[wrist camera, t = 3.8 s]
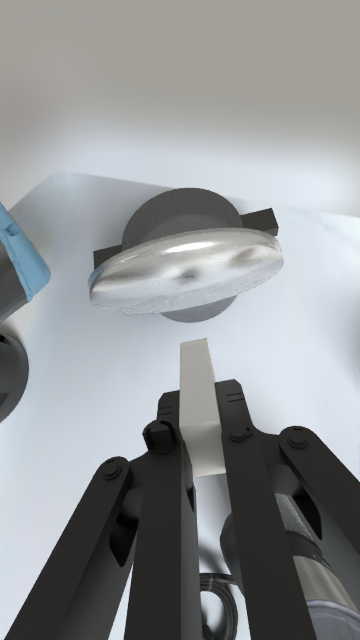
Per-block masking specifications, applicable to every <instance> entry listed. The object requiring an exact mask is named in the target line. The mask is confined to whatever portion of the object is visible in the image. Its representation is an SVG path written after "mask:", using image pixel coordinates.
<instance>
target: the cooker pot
mask: <svg viewBox="0 0 360 640" xmlns="http://www.w3.org/2000/svg"><path fill="white" fill-rule="evenodd" d="M214 228H246V229H253V230H259V231H262V232H265V233H268V234H270V235H272V236H277V233H278V228H279V227H278V224H277V221H276V218H275V216H274V213H273V210H272V208H269V209H265V210H261V211H257V212H253V213H248V214H244V215H239V213H238V212H237V210H236V209H235V207H234V206H233V205H232V204H231V203H230V202H229V201H228V200H227V199H225V198H224V197H222V196H221V195H219V194H217V193H214V192H212V191H209V190H205V189H200V188H180V189H175V190H171V191H167V192H164V193H162V194H160V195H157V196H156V197H154V198H152V199H150V200H149V201H147V202H146V203H145V204H143V205H142V206H141V207H140V208H139V209H138V210H137V211H136V212H135V213H134V215H133V216H132V217H131V219H130V220H129V222H128V224H127V226H126V228H125V231H124V234H123V239H122V245H118V246H114V247H110V248H106V249H101V250H97V251H93V254H94V270H95V269H96V268H97V267H99V266H100V265H101V264H102V263H104V262H105V261H107V260H108V259H110V258H111V257H113V256H115V255H117V254H119V253H121V252H123V251H125V250H128V249H130V248H132V247H135V246H137V245H140V244H143V243H146V242H149V241H152V240H155V239H159V238H162V237H166V236H170V235H174V234H179V233H184V232H190V231H196V230H203V229H214ZM236 296H237V295H234V296H232V297H229V298H225V299H222V300H219V301H216V302H212V303H208V304H204V305H200V306H196V307H191V308H186V309H181V310H175V311H168V312H160V314H162V315H163V316H165V317H167V318H169V319H172V320H175V321H179V322H186V323H191V322H200V321H204V320H208V319H210V318H212V317H215V316H216V315H218V314H220V313H221V312H223V311H224V310H225V309H226V308H227V307H228V306H229V305H230V304H231V303H232V302H233V301H234V299H235V298H236Z"/></svg>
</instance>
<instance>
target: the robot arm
mask: <svg viewBox="0 0 360 640" xmlns="http://www.w3.org/2000/svg"><path fill="white" fill-rule="evenodd" d="M49 279H50V269H49V267H48V265H47V264H46V262H45V261H44V260H43V258H42V257H41V255H40V254H39V253H38V251H37V250H36V249H35V247H34V246H33V245H32V243H31V242H30V240H29V239H28V238H27V236H26V235H25V234H24V232H23V231H22V230H21V229H20V227H19V226H18V225H17V223H16V222H15V221H14V219H13V218H12V217H11V215H10V214H9V213H8V211H7V210H6V209H5V208H4V206H3V205H2V204H1V202H0V322H2V321H3V320H4V319H6V318H7V317H9V316H10V315H11V314H13V313H14V312H15V311H17V310H18V309H19V308H21V307H22V306H23V305H25V304H26V303H28V302H30V301H31V299H32V297H33V296H34V295H36V294H37V293H38V292H39V291H40V290H41V289H42V288H44V287H45V286H46V285H47V283H48V282H49ZM27 379H28V360H27V356H26V353H25V351H24V349H23V347H22V346H21V344H20V343H19V342H18V341H17V340H16V339H15V338H13V337H11V336H9V335H7V334H5V333H2V332H0V422H2V421H3V420H4V419H5V418H6V417H7V416H8V415H9V414H10V413H11V412H12V411H13V410H14V408H15V407H16V405H17V404H18V402H19V401H20V399H21V397H22V395H23V392H24V390H25V387H26V383H27ZM142 435H143V437H144V440H145V443H146V445H147V448H148V451H147V452H146V453H145V454H144V455H142V456H140V457H138V458H136V459H134V460H132V461H129V462H128V460H127V459H126V458H124V457H120V456H118V457H112V458H110V459H108V460H106V461H105V462H104V463H102V464H101V465H100V467H99V468H98V469H97V471H96V473H95V474H94V476H93V478H92V480H91V482H90V483H89V485H88V487H87V489H86V491H85V493H84V494H83V496H82V498H81V500H80V502H79V504H78V505H77V507H76V509H75V511H74V513H73V515H72V516H71V518H70V520H69V522H68V524H67V526H66V527H65V529H64V531H63V533H62V535H61V537H60V538H59V540H58V542H57V544H56V546H55V547H54V549H53V551H52V553H51V555H50V557H49V558H48V560H47V562H46V564H45V566H44V568H43V569H42V571H41V573H40V575H39V577H38V579H37V580H36V582H35V584H34V586H33V588H32V590H31V591H30V593H29V595H28V597H27V599H26V601H25V602H24V604H23V606H22V608H21V610H20V611H19V613H18V615H17V617H16V619H15V621H14V622H13V624H12V626H11V628H10V630H9V632H8V633H7V635H6V637H5V639H4V640H108V638H109V635H110V631H111V628H112V625H113V622H114V619H115V616H116V613H117V610H118V607H119V604H120V601H121V598H122V595H123V592H124V589H125V586H126V583H127V580H128V577H129V573H130V570H131V567H132V564H133V571H132V579H131V586H130V594H129V602H128V610H127V618H126V625H125V633H124V640H202V620H201V598H200V576H199V554H198V532H197V510H196V490H195V486H194V483H193V474H194V477H195V478H196V477H202V476H209V475H215V474H221V473H226V475H227V482H228V488H229V495H230V502H231V508H232V515H233V522H234V529H235V535H236V542H237V549H238V555H239V562H240V569H241V576H242V582H243V589H244V596H245V602H246V609H247V616H248V623H249V629H250V636H251V640H317V637H316V633H315V630H314V627H313V623H312V620H311V616H310V613H309V610H308V606H307V603H306V600H305V596H304V593H303V589H302V586H301V583H300V579H299V576H298V572H297V569H296V566H295V562H294V559H293V556H292V552H291V549H290V545H289V542H288V539H287V535H286V532H285V528H284V525H283V522H282V518H281V515H280V512H279V508H278V505H277V501H276V498H275V495H274V493H278V494H284V495H287V497H288V499H289V500H290V502H291V504H292V505H293V507H294V509H295V510H296V512H297V513H298V515H299V517H300V518H301V520H302V521H303V523H304V525H305V526H306V528H307V529H308V531H309V533H310V534H311V536H312V537H313V539H314V541H315V542H316V544H317V546H318V547H319V549H320V550H321V552H322V554H323V555H324V557H325V558H326V560H327V562H328V563H329V565H330V566H331V568H332V570H333V571H334V573H335V575H336V576H337V578H338V579H339V581H340V583H341V584H342V586H343V587H344V589H345V591H346V592H347V594H348V595H349V597H350V599H351V600H352V602H353V603H354V605H355V607H356V608H357V610H358V612H359V613H360V482H359V481H358V480H357V479H356V478H355V476H354V475H353V474H352V473H351V472H350V471H349V470H348V469H347V468H346V467H345V466H344V464H343V463H342V462H341V461H340V460H339V459H338V458H337V457H336V456H335V455H334V454H333V452H332V451H331V450H330V449H329V448H328V447H327V446H326V445H325V444H324V443H323V442H322V440H321V439H320V438H319V437H318V436H317V435H316V434H315V433H314V432H313V431H311V430H310V429H308V428H305V427H302V426H291V427H287V428H285V429H284V430H282V431H281V433H280V434H279V435H273V434H267V433H264V432H261V431H259V430H258V429H256V428H255V426H254V425H253V423H252V421H251V418H250V414H249V411H248V407H247V404H246V401H245V397H244V394H243V390H242V387H241V384H239V383H238V382H237V381H236V380H235V379H232V380H227V381H222V382H216V380H215V375H214V370H213V366H212V361H211V357H210V352H209V348H208V343H207V339H206V338H204V339H199V340H194V341H189V342H184V343H180V390H177V391H172V392H167V393H163V395H162V396H161V398H160V399H159V402H158V411H157V420H154V421H152V422H151V423H149V424H148V425H147V426H146V427H145V428H144V431H143V433H142ZM133 561H134V563H133Z"/></svg>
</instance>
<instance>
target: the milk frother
mask: <svg viewBox="0 0 360 640" xmlns="http://www.w3.org/2000/svg"><path fill="white" fill-rule="evenodd" d="M285 532H286V535H287V539H288V542H289V545H290V549H291V552H292V556H293V559H294V562H295V566H296V569H297V572H298V576H299V579H300V583H301V586H302V589H303V593H304V596H305V600H306V603H307V606H308V610H309V613H310V616H311V620H312V623H313V627H314V630H315V633H316V637H317V640H360V613H359V612H358V610H357V608H356V607H355V605H354V603H353V602H352V600H351V599H350V597H349V595H348V594H347V592H346V591H345V589H344V587H343V586H342V584H341V583H340V581H339V579H338V578H337V576H336V575H335V573H334V571H333V570H332V568H331V566H330V565H329V563H328V562H327V560H326V558H325V557H324V555H323V554H322V552H321V550H320V549H319V547H318V546H317V545H316V544H315V543H314V542H312V541H311V540H310V539H308V538H306V537H305V536H303V535H301V534H299V533H296V532H292V531H285ZM220 546H221V550H222V553H223V556H224V559H225V562H226V564H227V566H228V568H229V571H230V573H231V575H228V574H220V573H199V576H200V592H201V591H210V592H213V593H214V594H216V595H217V596H218V597H219V598H220V599H221V601H222V602H223V604H224V608H225V613H226V622H225V628H224V632H223V634H222V637H221V639H220V640H235V638H236V634H237V625H238V612H237V607H236V603H235V600H234V598H233V596H232V594H231V593H230V591H229V589H228V588H227V586H226V585H225V584H224V583H223V582H225V583H230V584H234V585H237V586H238V588H239V589H240V591H241V593H242V594H243V596H244V589H243V582H242V576H241V569H240V562H239V555H238V549H237V542H236V535H235V529H234V522H233V515H232V513H231V514H230V515H229V516H228V517H227V519H226V521H225V524H224V526H223V529H222V532H221V536H220ZM244 598H245V596H244ZM202 640H213V639H212V636H211V632H210V629H209V627H208V625H205V626H203V625H202Z"/></svg>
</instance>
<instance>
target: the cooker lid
mask: <svg viewBox="0 0 360 640" xmlns="http://www.w3.org/2000/svg"><path fill="white" fill-rule="evenodd" d="M283 263H284V259H283V255H282V251H281V247H280V244H279V242H278V240H277V239H276V238H275V237H274V236H272V235H270V234H268V233H265V232H262V231H259V230H253V229H246V228H214V229H203V230H196V231H190V232H184V233H179V234H174V235H170V236H166V237H162V238H159V239H155V240H152V241H149V242H146V243H143V244H140V245H137V246H135V247H132V248H130V249H128V250H125V251H123V252H121V253H119V254H117V255H115V256H113V257H111V258H110V259H108V260H107V261H105V262H104V263H102V264H101V265H100V266H99V267H97V268H96V269H95V270H94V271H93V273H92V274H91V275H90V277H89V279H88V290H89V297H90V301H91V303H92V305H93V306H95V307H96V308H98V309H100V310H103V311H107V312H112V313H121V314H148V313H160V312H168V311H175V310H181V309H186V308H191V307H196V306H200V305H204V304H208V303H212V302H216V301H219V300H222V299H225V298H229V297H232V296H234V295H237V294H240V293H242V292H245V291H247V290H249V289H252V288H254V287H256V286H258V285H260V284H262V283H263V282H265V281H267V280H268V279H270V278H271V277H273V276H274V275H275V274H276V273H277V272H278V271H279V270H280V269H281V268H282V266H283Z"/></svg>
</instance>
